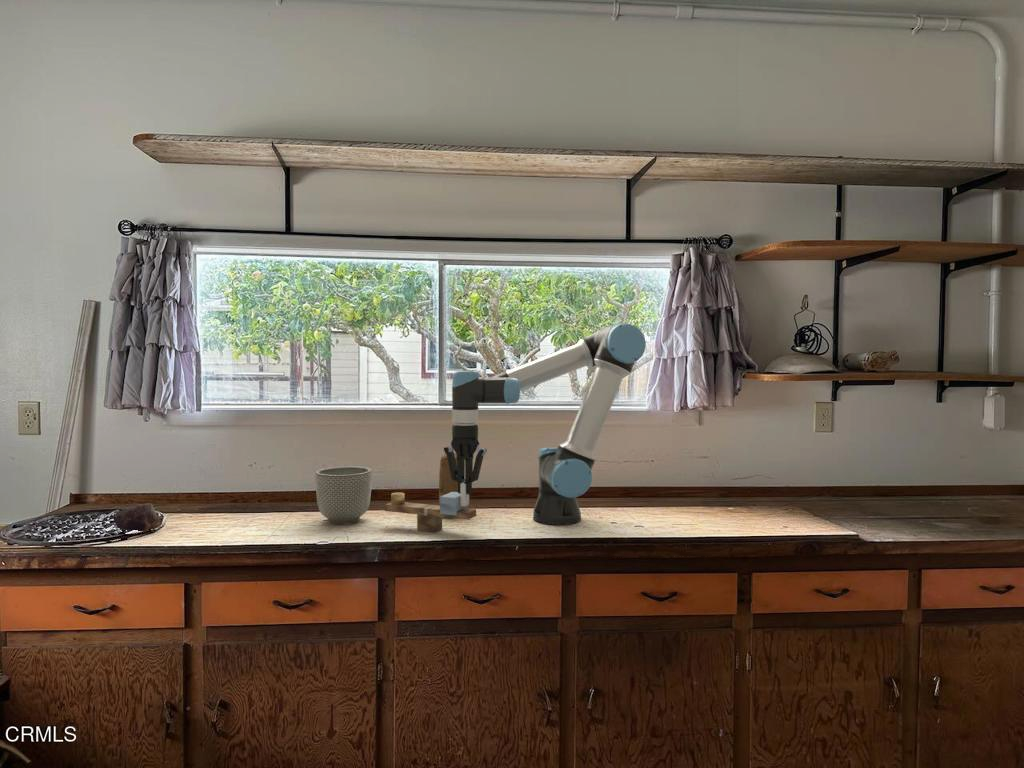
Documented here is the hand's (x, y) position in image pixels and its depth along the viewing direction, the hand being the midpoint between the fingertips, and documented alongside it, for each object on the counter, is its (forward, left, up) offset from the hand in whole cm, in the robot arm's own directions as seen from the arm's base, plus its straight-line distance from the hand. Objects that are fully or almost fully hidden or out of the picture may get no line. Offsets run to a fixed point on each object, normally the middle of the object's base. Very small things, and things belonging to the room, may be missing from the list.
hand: (464, 504), depth 183 cm
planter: (+42, +1, -9) cm, 43 cm away
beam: (+12, 0, -9) cm, 14 cm away
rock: (+89, +36, -9) cm, 96 cm away
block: (+15, -20, -9) cm, 26 cm away
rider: (+4, 0, -2) cm, 4 cm away
